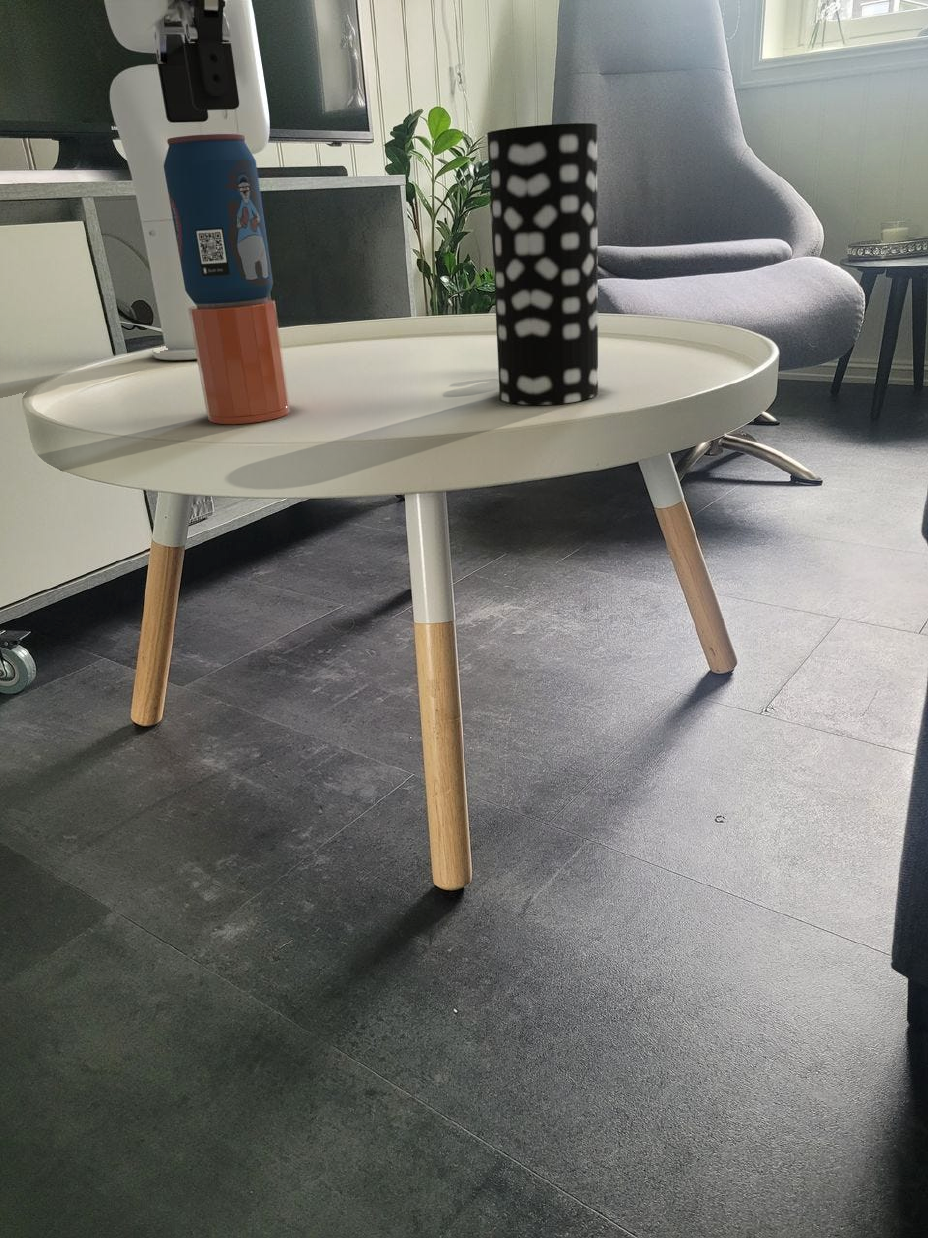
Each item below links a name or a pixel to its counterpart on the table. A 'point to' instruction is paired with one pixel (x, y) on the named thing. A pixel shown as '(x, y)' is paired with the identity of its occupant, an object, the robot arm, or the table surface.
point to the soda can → (218, 220)
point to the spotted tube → (545, 261)
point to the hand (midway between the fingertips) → (201, 115)
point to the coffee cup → (240, 362)
